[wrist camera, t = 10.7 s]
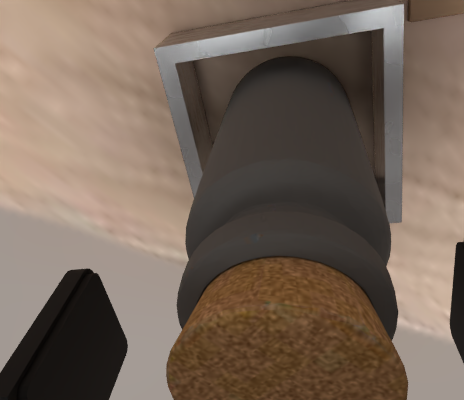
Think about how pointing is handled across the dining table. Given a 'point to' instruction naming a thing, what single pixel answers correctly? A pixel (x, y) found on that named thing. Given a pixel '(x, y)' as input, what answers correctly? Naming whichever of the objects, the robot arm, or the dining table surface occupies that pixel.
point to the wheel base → (433, 9)
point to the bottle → (287, 253)
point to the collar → (282, 33)
